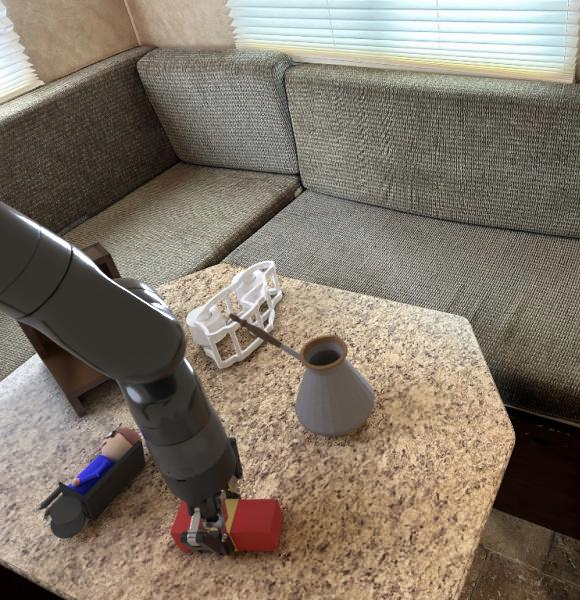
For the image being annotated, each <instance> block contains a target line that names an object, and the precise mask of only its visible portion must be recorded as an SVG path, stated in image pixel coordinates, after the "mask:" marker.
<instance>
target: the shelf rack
mask: <svg viewBox="0 0 580 600" xmlns="http://www.w3.org/2000/svg"><path fill="white" fill-rule="evenodd" d="M80 250H81V251H82V252H84V253H85V254H86V255H87V256H88V257H89V258H91V259H92V261H93V262H94V263H95V264H96V265H97V266H98V268H99V269H100V270H101V271H102V272H103V273H104V274H105V275H106V276H107V277H108V278H110V279H115V278H123V277H122V275H121V273H120V271H119V269H118V266H117V265H116V263H115V260H114V257H113V256H112V255H111V252H109V250H108V249H107V248H106V247H105V246H104V245H102V244H101V243H100V242H99V241H97V242H94V243H92V244H90V245H88V246H86V247H83V248H81V249H80ZM15 322H16V323H17V324H18V326H19V328H20V329H21V331H22V332H23V334H24V335H25V337H26V338H27V340H28V342H29V344H30V345H31V346H32V348H33V349H34V351H35V352H36V354H37V356H38V357H39V359H40V360H41V362H42V363H43V365H44V366H45V368H46V370H47V371H48V372H49V374H50V376H51V377H52V379H53V380H54V382H55V383H56V385H57V386H58V388H59V389H60V391H61V392H62V394H63V395H64V397H65V398H66V400H67V402H68V403H69V405H70V406H71V408H72V409H73V410H74V412H75V413H76V415H77V417H78V418H79V419H80V418H82V417H84V416H85V415H87V414H88V413H87V411H86V409H85V407H84V406H83V404H82V403H81V401H80V399H79V398H78V397H79V396H81V395H83V394H84V393H86V392H88V391H90V390H92V389H93V388H96V387H98V386H99V385H100V384H103V383H104V382H106V381H108V380H109V379H111V378H110V377H108V376H106V375H104V374H102V373H100V372H98V371H97V370H95V369H94V368H92V367H90V366H89V365H87V364H86V363H84V362H83V361H81V360H80V359H78V358H77V357H75V356H74V355H72V354H71V353H70V352H68V351H67V350H65V349H64V348H62V347H61V346H59V345H58V344H57V343H55V342H54V341H53V340H51V339H50V338H49V337H48V336H46V335H45V334H43V333H42V332H40V331H39V330H37V329H35V328H34V327H32V326H30V325H27V324H25V323H22V322H20V321H17V320H15Z"/></svg>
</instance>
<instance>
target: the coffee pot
mask: <svg viewBox="0 0 580 600" xmlns="http://www.w3.org/2000/svg"><path fill="white" fill-rule="evenodd" d="M234 314H235V315H234ZM237 314H238V313H237V312H235V311H234V313H233V314H229V315H228V317H227V320H226V321H225V322H226V325H230V324H231V323H232V322H233V321H235V322H238V323H239V324H240V326H241V327H240V328H245V329H247V330H248V331H250V332H252V333H253V334H254V335H255V336H254V335H253V336H254V337H257V338H258V337H259V338H261V339H263V340H264V342H266V343H269V344H271V345H273V346H274V347H276V348H278V349H280V350H282V351H284V352H285V353H287V354H288V355H289V356H292V357H293V358H294V359H296V360H297V361H300V363H301V364H302V365H303V366H304V367H305V370H304V373H303V375H302V380H301V382H300V385H299V389H298V392H297V395H296V399H295V403H294V411H295V412H294V413H295V416H296V418H297V420H298V422H299V423H300V424H301V426H303V427H304V429H306V430H307V431H308V432H311V433H313V434H314V435H317V436H320V437H325V438H326V437H327V438H330V437H331V438H332V437H333V438H334V437H341V436H344V435H347V434H350V433H352V432H354V431H356V430H357V429H359V428H360V427H362V426H363V425H364V424H365V423H366V421H367V420H368V419H369V418H370V416H371V414H372V412H373V410H374V408H375V400H376V396H375V392H374V388H373V386H372V385H371V384H370V382H369V381H368V380H367V378H365V377H364V376H363V375H362V374H361V372H360V371H359V370H358V369H357V368H356V367H355V366H354V365H353V364H352V363H351V361H349V359H347V356H348V352H349V348H348V344H346V341H344V339H343V338H342V337H341V336H339V335H337V334H327V335H326V334H324V335H320V336H316V337H314V338H311V339H310V340H308V341H307V342H306V343H304V344H303V346H302V348H301V349H300V351H297V350H295V349H294V348H292V347H289V345H286V344H285V343H284V342H282V341H280V340H279V339H278V338H276V337H275V336H273V335H272V334H270V333H267V332H266V331H264V330H263V329H261V328H260V327H257V326H255V325H252V324H250V323H248V322H247V320H246V319H241V318H239V316H237ZM229 319H232V321H231V322H230V323H229V324H227V322H228V320H229ZM250 332H249V333H250Z"/></svg>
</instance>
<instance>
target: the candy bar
mask: <svg viewBox="0 0 580 600" xmlns="http://www.w3.org/2000/svg"><path fill="white" fill-rule="evenodd" d="M225 504H226V508H227V513H228V520H227V522H226V529H227V533H228V534H229V536H230V538H231V540H232V542H233V544H234V546H235V551H234V552H238V551H243V552H244V551H249V552H250V551H254V552H255V551H257V552H258V551H260V552H261V551H262V552H263V551H277V550H278V546H279V541H280V537H281V532H282V529H283V528H282V527H283V522H284V518H285V516H284V513H283V511H282V508H281V505H280V503H279V500H278V498H255V499H254V498H247V499H246V498H244V499H243V498H242V499H226V500H225ZM217 515H218V514H217ZM191 519H192V518H191V517H190V516H189V514H188V510H187V504H186V503H185V502H184V501H183V500H181V502H180V505H179V508H178V510H177V513H176V516H175V519H174V521H173V524H172V527H171V529H170V533H169V534H170V536H171V538H172V539H173V541H174V543H175V544H176V546H177V547H178V549H179V551H182V552H193V551H192V550H191V549H189V548H188V547H186V546H185V545H183V544H182V543H181V542H180V537H181V533H182V532H183V531H188V530H189V529H190V524H191ZM210 530H218V529H217V528H215V527H212V528H210Z"/></svg>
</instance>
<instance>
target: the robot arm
mask: <svg viewBox="0 0 580 600" xmlns="http://www.w3.org/2000/svg"><path fill="white" fill-rule="evenodd" d="M0 314H2V315H4V316H7V317H9V318H11V319H12V320H15V321H16V320H17V321H20V322H22V323H25V324H27V325H30V326H32V327H34V328H35V329H37V330H39V331H40V332H42V333H43V334H45V335H46V336H48V337H49V338H50V339H51V340H53V341H54V342H55V343H57V344H58V345H59V346H61V347H62V348H64V349H65V350H67V351H68V352H70V353H71V354H72V355H74V356H75V357H77V358H78V359H80V360H81V361H83V362H84V363H86V364H87V365H89V366H90V367H92V368H94V369H95V370H97V371H98V372H100V373H102V374H104V375H106V376H108V377H110V378H109V379H113V380H115V382H116V383H117V385H118V386H119V389H120V390H121V393H122V395H123V398H124V400H125V404H126V406H127V409H128V411H129V413H130V416H131V417H132V420H133V421H134V423H135V426H137V428H138V431H139V432H140V434H141V435H142V437H143V440H144V443H145V446H146V449H147V452H148V454H149V456H150V457H151V460H152V461H153V463H154V465H155V466H156V468H157V470H158V471H159V473H160V475H161V477H162V479H163V481H164V482H165V484H166V486H167V487H168V490H169V491H170V492H171V493H172V494H173V495H174V496H175V497H177V499H180V500H181V501H182V500H183V501H184V502H185V503H186V504H187V510H188V514H189V516H190V517H191V518H192V519H191V524H190V529H189V530H188V531H183V532H182V533H181V537H180V542H181V543H182V544H183V545H185V546H186V547H188V548H189V549H191V550H192V551H191V552H194V553H196V554H197V555H206V554H207V555H208V554H209V555H211V554H212V555H213V554H214V555H215V556H216V557H230V556H231V555H234V554H235V552H236V551H235V546H234V544H233V542H232V540H231V538H230V536H229V534H228V533H227V529H226V522H227V520H228V513H227V508H226V504H225V500H226V499H243V498H242V496H241V490H242V489H241V484H239V480H242V478H243V475H244V471H243V467H242V462H241V458H240V453H239V448H238V444H237V439H236V437H235V436H231V437H230V436H228V435H227V433H226V430H225V427H224V425H223V423H222V420H221V418H220V416H219V414H218V413H217V411H216V409H215V408H214V406H213V405H212V403H211V401H210V399H209V396H208V394H207V392H206V390H205V387H204V384H203V382H202V380H201V378H200V376H199V375H198V373H197V371H196V370H195V368H194V367H193V366H192V364H191V363H190V362H189V360H188V358H186V354H187V347H188V342H187V334H186V332H185V330H184V327H183V325H182V323H181V321H180V320H179V319H178V317H177V316H176V315H175V313H174V312H173V311H172V309H171V308H170V307H169V305H168V304H167V302H166V301H165V300H164V298H163V297H162V296H161V295H160V293H159V292H158V291H157V290H156V289H155V288H154V287H152V286H151V285H149V284H148V283H146V282H144V281H142V280H139V279H136V278H131V277H122V278H115V279H110V278H108V277H107V276H106V275H105V274H104V273H103V272H102V271H101V270H100V269H99V268H98V266H97V265H96V264H95V263H94V262H93V261H92V259H91V258H89V257H88V256H87V255H86V254H85V253H84V252H82V251H81V249H80V248H79V247H77V246H76V245H74V244H73V243H72V242H70V241H68V240H66V239H65V238H64V237H61V236H60V235H59V234H57V233H55V232H53V231H52V230H50V229H49V228H47V227H45V226H44V225H42V224H41V223H39V222H37V221H36V220H35V219H33V218H31V217H29V216H28V215H26V214H25V213H23V212H21V211H19V210H17V209H16V208H14V207H12V206H11V205H10V204H8V203H6V202H4V201H2V200H0ZM17 321H16V322H17ZM217 514H218V515H217ZM212 527H215V528H217V529H218V530H210V528H212Z"/></svg>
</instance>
